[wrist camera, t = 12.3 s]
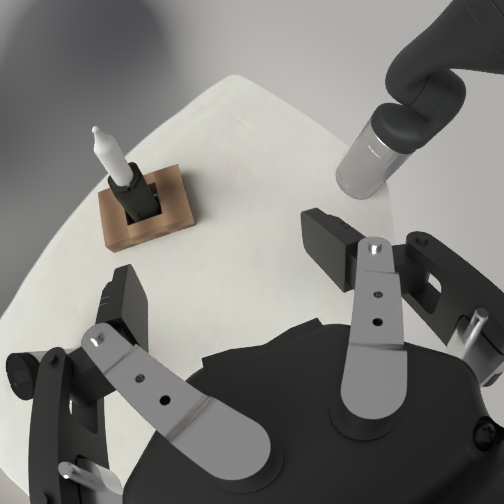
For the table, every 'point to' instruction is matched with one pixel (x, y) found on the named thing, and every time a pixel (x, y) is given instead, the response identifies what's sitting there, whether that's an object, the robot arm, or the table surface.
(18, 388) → the travel mug
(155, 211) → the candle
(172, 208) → the socket block
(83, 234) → the table surface
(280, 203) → the table surface
